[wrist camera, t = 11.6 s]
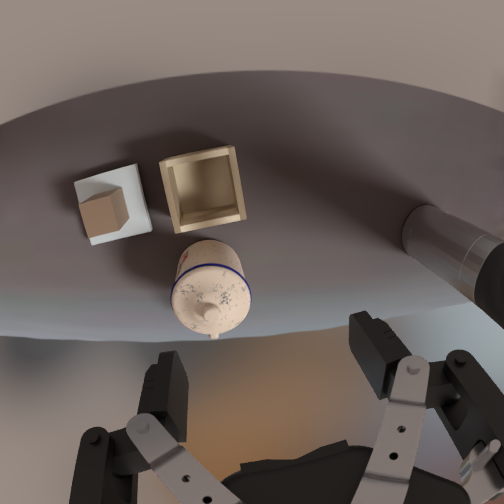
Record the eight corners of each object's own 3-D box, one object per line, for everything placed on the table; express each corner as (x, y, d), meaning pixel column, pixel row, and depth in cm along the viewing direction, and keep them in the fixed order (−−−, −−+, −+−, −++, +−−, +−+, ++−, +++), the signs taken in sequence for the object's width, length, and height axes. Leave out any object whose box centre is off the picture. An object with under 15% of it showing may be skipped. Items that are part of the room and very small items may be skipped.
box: (229, 144, 35) (234, 146, 30) (240, 206, 38) (246, 219, 33) (166, 158, 35) (158, 162, 29) (179, 218, 38) (175, 233, 32)
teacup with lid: (173, 238, 39) (162, 279, 28) (242, 235, 40) (256, 274, 29) (182, 315, 43) (178, 369, 33) (242, 311, 44) (255, 364, 34)
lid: (138, 162, 34) (124, 169, 28) (153, 226, 38) (144, 245, 31) (79, 179, 34) (56, 190, 27) (96, 240, 37) (78, 260, 31)
